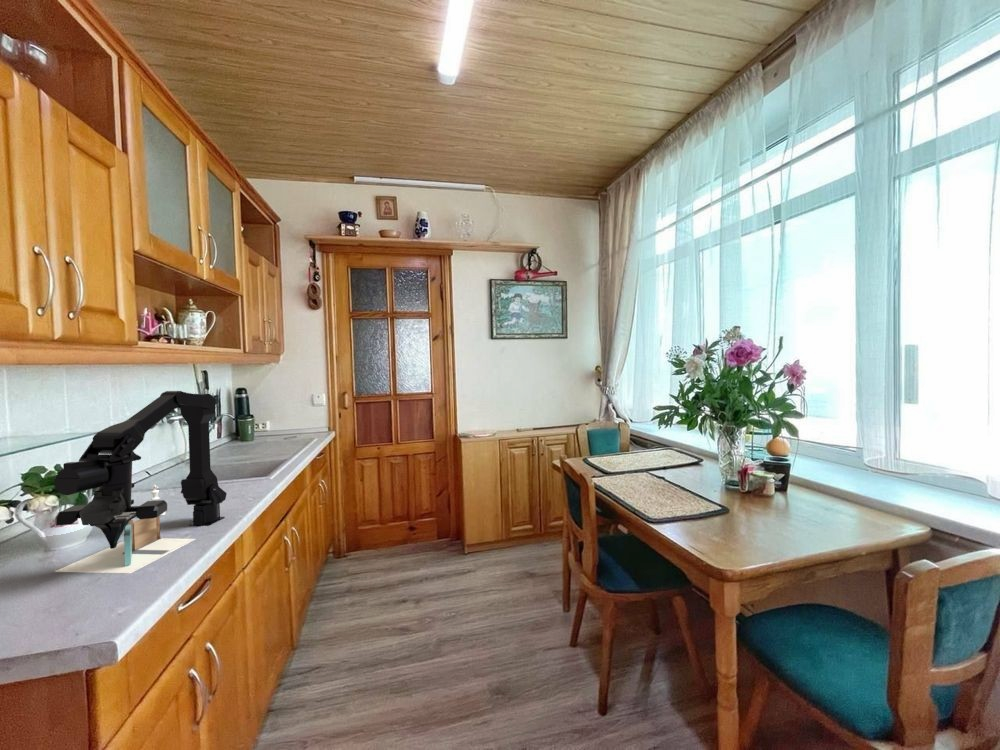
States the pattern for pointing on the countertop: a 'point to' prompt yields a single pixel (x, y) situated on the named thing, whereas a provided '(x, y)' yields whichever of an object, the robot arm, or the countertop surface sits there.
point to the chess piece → (155, 495)
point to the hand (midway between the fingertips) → (113, 547)
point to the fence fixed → (144, 531)
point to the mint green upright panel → (128, 545)
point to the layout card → (115, 557)
